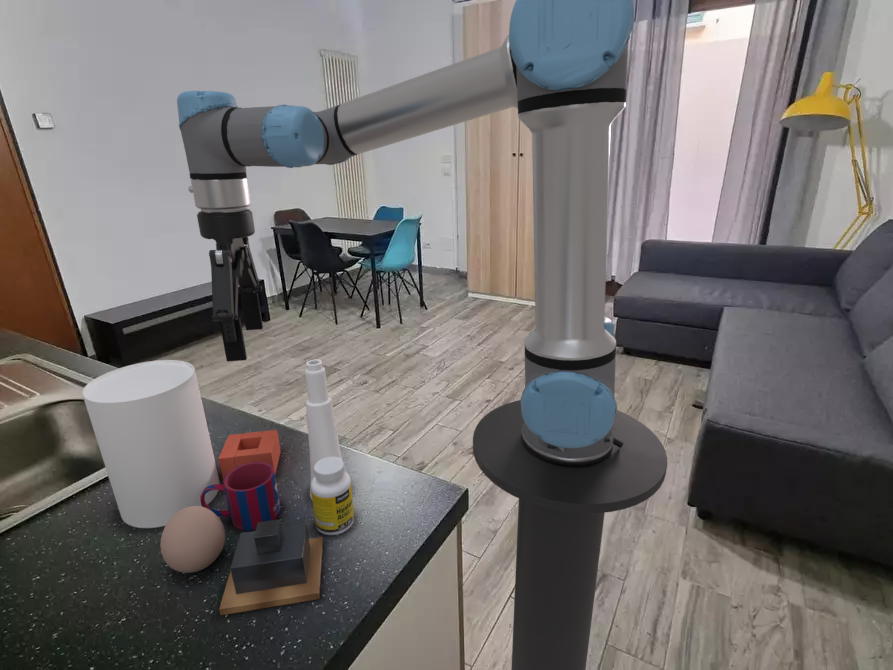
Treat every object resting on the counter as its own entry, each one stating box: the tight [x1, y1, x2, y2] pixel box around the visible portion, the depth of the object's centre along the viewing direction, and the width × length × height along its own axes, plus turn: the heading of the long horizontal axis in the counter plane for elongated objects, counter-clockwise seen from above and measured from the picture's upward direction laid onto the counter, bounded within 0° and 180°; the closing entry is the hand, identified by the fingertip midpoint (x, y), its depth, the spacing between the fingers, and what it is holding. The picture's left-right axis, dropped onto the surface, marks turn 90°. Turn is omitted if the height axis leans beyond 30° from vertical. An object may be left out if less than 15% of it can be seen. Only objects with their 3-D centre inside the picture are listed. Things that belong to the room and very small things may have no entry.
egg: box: [159, 506, 226, 574], centre depth 61 cm, size 7×7×8 cm
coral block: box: [218, 429, 281, 483], centre depth 81 cm, size 8×7×4 cm
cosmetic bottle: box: [304, 358, 343, 500], centre depth 71 cm, size 6×6×22 cm
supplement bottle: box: [310, 457, 355, 536], centre depth 67 cm, size 5×5×10 cm
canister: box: [81, 359, 221, 529], centre depth 71 cm, size 14×14×20 cm
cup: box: [200, 462, 282, 532], centre depth 69 cm, size 7×10×7 cm
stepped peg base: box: [218, 518, 324, 616], centre depth 59 cm, size 11×9×8 cm
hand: (246, 343), depth 79 cm, fingers open, 13 cm apart
